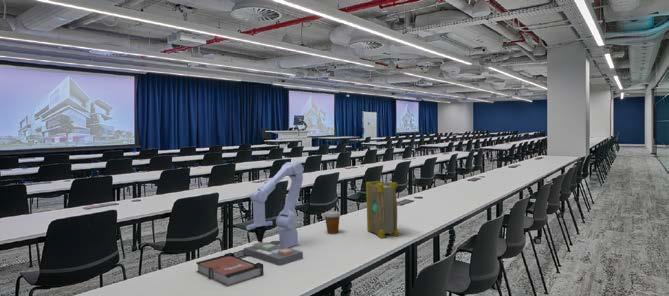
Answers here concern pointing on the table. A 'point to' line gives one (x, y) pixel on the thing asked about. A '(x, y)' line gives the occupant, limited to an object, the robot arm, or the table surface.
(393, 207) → the decorative book
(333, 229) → the disposable coffee cup
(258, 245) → the sand key
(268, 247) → the sage key
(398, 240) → the table surface
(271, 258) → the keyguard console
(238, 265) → the book
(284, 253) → the terracotta key
